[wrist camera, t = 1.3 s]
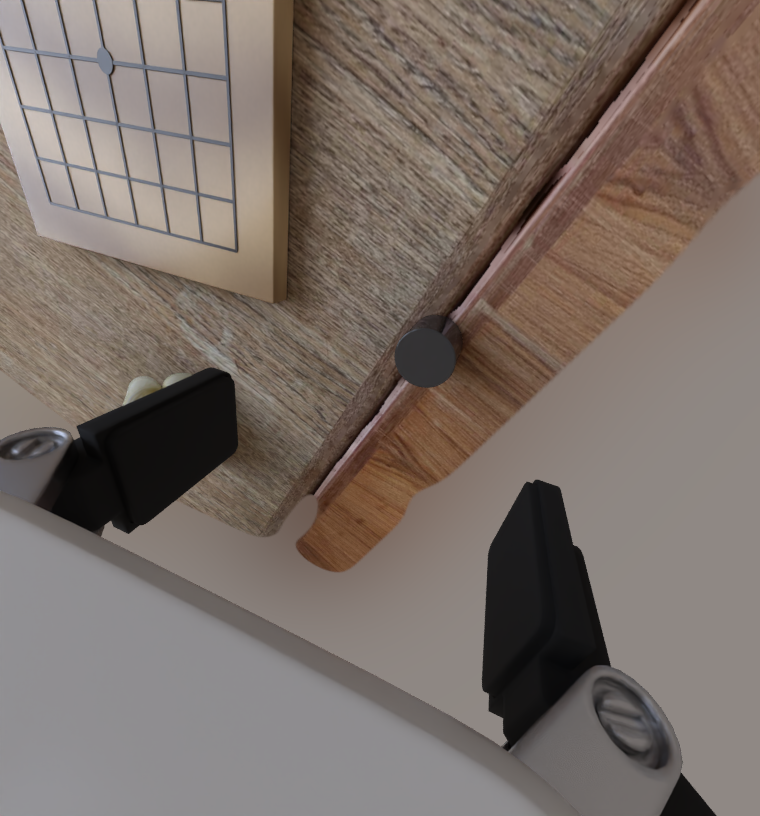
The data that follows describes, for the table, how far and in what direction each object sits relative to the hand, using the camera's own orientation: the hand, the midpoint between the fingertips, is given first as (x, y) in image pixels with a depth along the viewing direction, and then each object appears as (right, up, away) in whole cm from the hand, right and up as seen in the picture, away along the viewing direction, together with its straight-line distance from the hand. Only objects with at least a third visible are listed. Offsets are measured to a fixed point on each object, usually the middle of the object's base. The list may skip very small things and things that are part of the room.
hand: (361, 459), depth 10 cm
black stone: (+4, +6, +9) cm, 12 cm away
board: (-13, +20, +8) cm, 25 cm away
